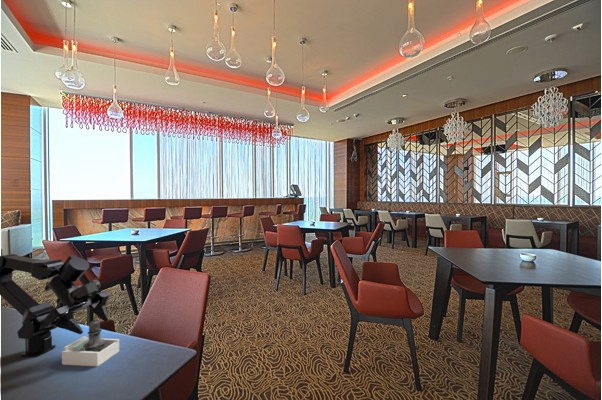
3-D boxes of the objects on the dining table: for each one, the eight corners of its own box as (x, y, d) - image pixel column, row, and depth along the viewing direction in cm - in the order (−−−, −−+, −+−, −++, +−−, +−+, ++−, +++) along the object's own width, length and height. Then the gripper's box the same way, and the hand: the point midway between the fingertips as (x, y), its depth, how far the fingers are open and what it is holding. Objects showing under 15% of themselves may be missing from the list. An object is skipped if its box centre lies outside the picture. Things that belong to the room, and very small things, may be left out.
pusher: (72, 358, 90) (72, 347, 90) (89, 348, 96) (89, 337, 96) (75, 359, 90) (75, 347, 90) (92, 348, 96) (92, 337, 96)
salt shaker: (98, 359, 90) (97, 320, 90) (78, 359, 89) (78, 321, 89) (109, 349, 96) (109, 313, 96) (91, 350, 95) (91, 314, 95)
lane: (62, 364, 89) (61, 348, 89) (86, 349, 98) (86, 334, 98) (97, 366, 87) (97, 349, 88) (119, 351, 96) (119, 336, 96)
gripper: (51, 282, 85) (82, 322, 82) (105, 267, 103) (132, 300, 101) (30, 307, 86) (60, 347, 84) (87, 288, 104) (113, 321, 102)
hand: (95, 326), depth 93 cm, fingers open, 9 cm apart
